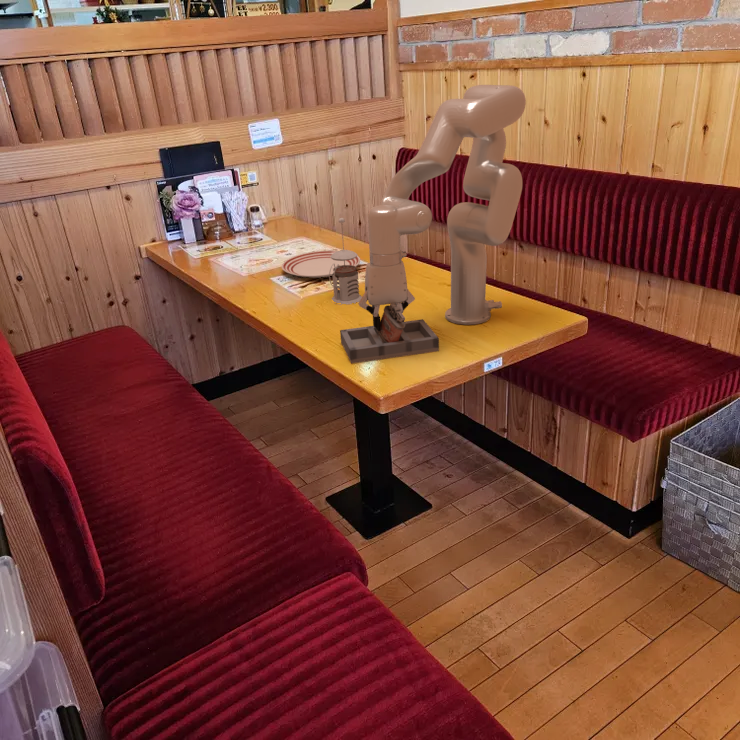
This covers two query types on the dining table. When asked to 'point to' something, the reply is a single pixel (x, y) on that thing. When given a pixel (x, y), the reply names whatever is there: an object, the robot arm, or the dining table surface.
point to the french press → (346, 284)
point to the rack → (371, 347)
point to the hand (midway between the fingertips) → (387, 327)
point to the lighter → (391, 324)
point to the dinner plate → (315, 264)
